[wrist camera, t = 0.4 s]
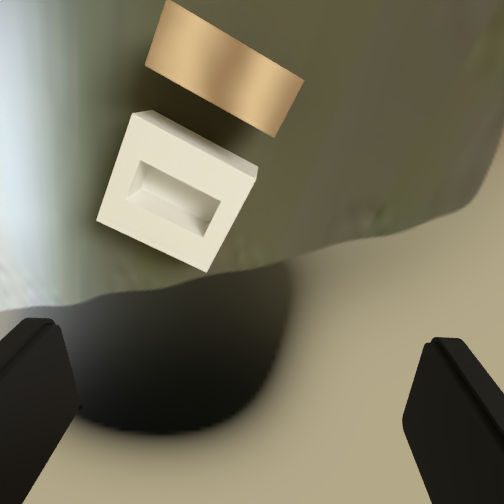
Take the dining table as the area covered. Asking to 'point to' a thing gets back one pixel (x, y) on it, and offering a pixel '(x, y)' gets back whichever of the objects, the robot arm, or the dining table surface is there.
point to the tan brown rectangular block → (221, 69)
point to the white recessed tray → (175, 189)
